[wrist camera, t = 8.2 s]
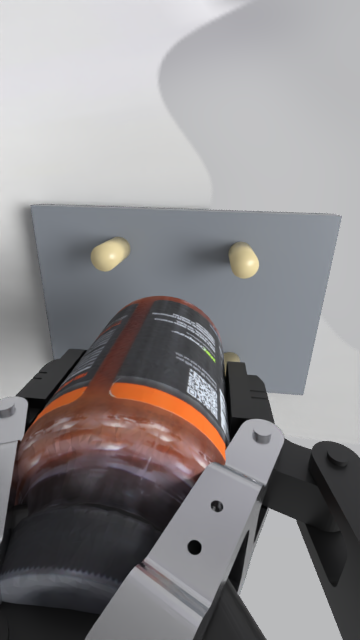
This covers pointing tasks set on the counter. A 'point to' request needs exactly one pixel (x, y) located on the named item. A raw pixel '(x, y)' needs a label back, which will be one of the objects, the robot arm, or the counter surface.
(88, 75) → the counter surface
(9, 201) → the counter surface
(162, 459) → the supplement bottle
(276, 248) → the plate
